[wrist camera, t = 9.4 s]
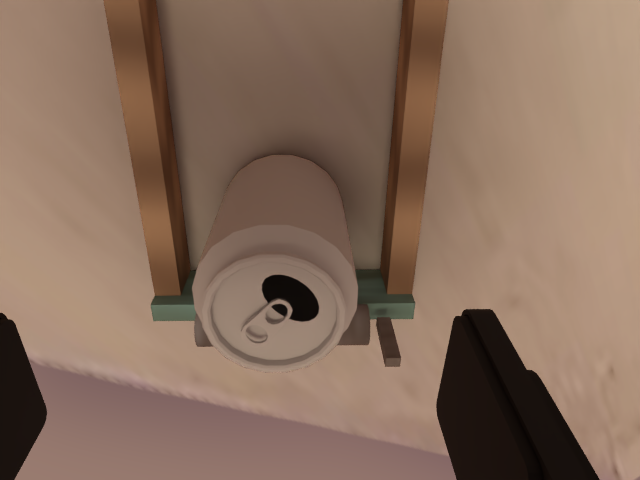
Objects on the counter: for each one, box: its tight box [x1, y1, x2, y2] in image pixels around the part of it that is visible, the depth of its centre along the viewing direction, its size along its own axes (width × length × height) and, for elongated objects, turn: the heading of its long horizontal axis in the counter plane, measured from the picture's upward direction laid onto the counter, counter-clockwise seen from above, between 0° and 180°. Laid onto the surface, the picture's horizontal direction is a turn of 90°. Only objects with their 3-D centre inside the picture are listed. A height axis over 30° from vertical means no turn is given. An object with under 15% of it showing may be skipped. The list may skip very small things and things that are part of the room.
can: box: [192, 155, 358, 373], centre depth 26 cm, size 8×8×12 cm
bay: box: [104, 0, 449, 367], centre depth 26 cm, size 19×16×9 cm
